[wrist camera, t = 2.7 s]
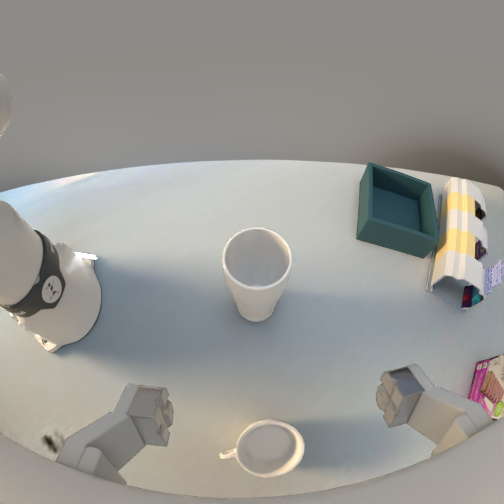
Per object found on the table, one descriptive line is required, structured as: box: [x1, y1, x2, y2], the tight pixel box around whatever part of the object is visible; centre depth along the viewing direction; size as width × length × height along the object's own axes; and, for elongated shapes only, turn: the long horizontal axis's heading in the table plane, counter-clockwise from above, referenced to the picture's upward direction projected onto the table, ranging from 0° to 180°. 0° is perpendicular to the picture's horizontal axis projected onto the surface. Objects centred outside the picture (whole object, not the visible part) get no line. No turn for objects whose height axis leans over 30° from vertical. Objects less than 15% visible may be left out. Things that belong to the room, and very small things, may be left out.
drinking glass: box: [222, 227, 293, 322], centre depth 32 cm, size 7×7×15 cm
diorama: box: [426, 177, 504, 312], centre depth 38 cm, size 25×10×13 cm, turn 150°
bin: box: [356, 162, 439, 258], centre depth 44 cm, size 14×14×6 cm
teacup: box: [220, 419, 305, 478], centre depth 27 cm, size 10×8×5 cm
